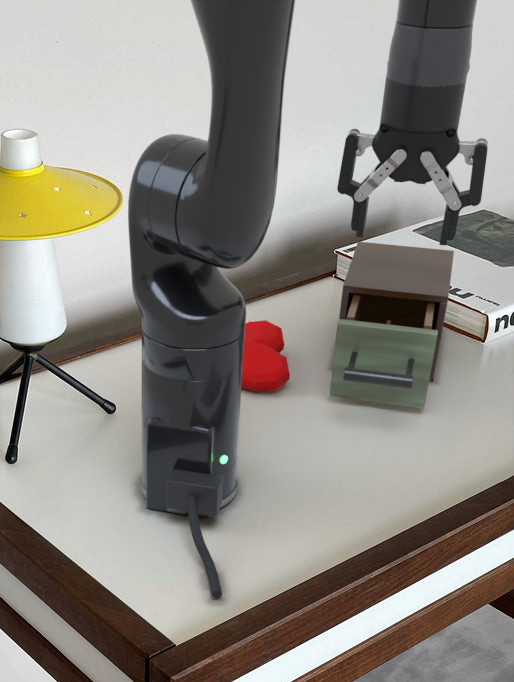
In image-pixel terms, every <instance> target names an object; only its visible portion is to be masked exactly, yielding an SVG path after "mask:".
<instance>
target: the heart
mask: <svg viewBox="0 0 514 682" xmlns="http://www.w3.org/2000/svg"><path fill="white" fill-rule="evenodd" d="M284 349H285V340H284V334H283V328H282V327H280V326H278V325H276V324H274V323H272V322H270V321H268V320H266V319H265V320H255V321H248V322H246V323H245V340H244V356H243V370H242V386H241V389H245V390H248V391H251V392H255V393H265V392H275V391H278V390H279V389H280V388H281V387H282V386H283V385H284V384H285V383H287V382H288V381H289V380H290V376H291V375H290V368H289V363H288V358H287V357H286V356H285V355H283V354H281V353H282V351H283V350H284Z"/></svg>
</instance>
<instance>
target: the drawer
mask: <svg viewBox="0 0 514 682" xmlns="http://www.w3.org/2000/svg"><path fill="white" fill-rule="evenodd" d="M434 307H435V302H432V301H423V300H413V299H404V298H395V297H386V296H377V295H367V294H358V293H354V296H353V299H352V302H351V305H350V309H349V312H348V315H347V320H344V319H339V318H338V321H337V327H336V335H335V343H334V350H333V351H334V352H333V358H332V359H333V360H332V369H331V377H330V385H329V395H328V396H329V397H336V398H344V399H350V400H359V401H365V402H373V403H380V404H381V403H382V404H389V405H396V406H405V407H411V408H419V409H425V407H426V400H427V395H428V391H429V383H430V382H429V379H430V374H431V368H432V362H433V357H434V351H435V346H436V340H437V334H438V330H431V327H432V321H433V314H434ZM388 320H390V321H391V325H387V324H386V323H387V321H388Z"/></svg>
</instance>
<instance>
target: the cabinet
mask: <svg viewBox="0 0 514 682" xmlns="http://www.w3.org/2000/svg"><path fill="white" fill-rule="evenodd" d="M454 254H455V250H448V249H440V248H427V247H420V246H419V247H418V246H409V245H396V244H387V243H386V244H385V243H376V242H367V241H357V244H356V246H355V249H354V252H353V255H352V258H351V261H350V264H349V267H348V270H347V272H346V276H345V278H344V282H343V285H342V290H341V291H342V292H341V299H340V309H339V317H338V320H339V319H344V320H347V315H348V312H349V309H350V305H351V302H352V299H353V296H354V293H358V294H367V295H377V296H386V297H395V298H404V299H413V300H423V301H432V302H435V307H434V314H433V321H432V327H431V330H438V334H437V340H436V346H435V351H434V357H433V362H432V368H431V374H430V379H429V383H434V378H435V373H436V368H437V363H438V357H439V352H440V347H441V346H440V345H441V340H442V336H443V330H444V323H445V319H446V314H447V313H446V312H447V307H448V302H449V297H450V296H449V295H450V288H451V281H452V271H453V264H454V263H453V262H454Z"/></svg>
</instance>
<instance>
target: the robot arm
mask: <svg viewBox="0 0 514 682" xmlns="http://www.w3.org/2000/svg"><path fill="white" fill-rule="evenodd" d="M189 1H190V3H191V7H192V11H193V13H194V16H195V20H196V22H197V26H198V29H199V33H200V35H201V39H202V42H203V46H204V50H205V53H206V56H207V62H208V67H209V74H210V75H209V76H210V87H211V89H210V90H211V91H210V92H211V93H210V95H211V96H210V98H211V99H210V100H211V101H210V117H209V127H208V137H207V139H202V138H199V137H195V136H192V135H187V134H182V133H179V134H178V133H169V134H165V135H162V136H160V137H158V138H156V139H155V140H153V141H152V142H151V143H150V144H148V145H147V147H146V148H145V149H144V151H143V152H142V153H141V155H140V156H139V158H138V160H137V163H136V165H135V166H134V169H133V172H132V177H131V180H130V184H129V190H128V191H129V193H128V201H127V221H128V222H127V224H128V242H129V258H130V273H131V275H130V276H131V288H132V294H133V298H134V301H135V304H136V305H137V308H138V310H139V312H140V318H141V324H140V325H141V478H140V491H141V494H142V496H143V497H144V498H145V507H146V508H147V509H150V510H156V511H163V512H168V513H174V514H180V515H186V516H187V515H188V522H189V528H190V532H191V537H192V540H193V543H194V546H195V548H196V550H197V554H198V555H199V557H200V559H201V561H202V563H203V566H204V569H205V572H206V575H207V578H208V583H209V584H208V585H209V588H210V593H211V597H212V598H213V599H220V598H221V597H222V596H223V592H222V587H221V583H220V578H219V574H218V570H217V568H216V565H215V562H214V560H213V557H212V555H211V553H210V551H209V549H208V547H207V545H206V542H205V539H204V537H203V533H202V529H201V523H200V518H205V519H207V518H209V517H217V516H218V513H219V511H220V509H221V508H222V509H223V508H224V507H225V506H227V505H229V503H230V502H231V501H232V500H233V499H234V498H235V496H236V494H237V487H238V480H237V467H238V450H239V436H240V435H239V434H240V417H241V403H242V402H241V401H242V388H241V386H242V370H243V356H244V340H245V324H246V323H247V305H246V301H245V298H244V296H243V294H242V293H241V291H240V290H239V289H238V288H237V287H236V286H235V285H234V284H233V283H232V282H231V281H230V280H229V279H228V278H227V277H226V276H225V274H224V273H223V272H222V271H221V269H225V270H229V269H236V268H239V267H241V266H243V265H245V264H246V263H247V262H248V261H250V260H251V259H252V258H253V256H254V255H255V254H256V253H257V252H258V250H259V249H260V247H261V245H262V243H263V242H264V240H265V236H266V235H267V232H268V229H269V227H270V224H271V220H272V216H273V211H274V207H275V202H276V195H277V185H278V175H279V162H280V150H281V138H282V137H281V134H282V123H283V122H282V121H283V120H282V119H283V108H284V95H285V94H284V93H285V82H286V81H285V80H286V72H287V65H288V64H287V63H288V57H289V49H290V43H291V42H290V41H291V34H292V27H293V20H294V13H295V6H296V0H189ZM477 3H478V0H398V4H397V10H396V11H397V12H396V17H395V18H396V21H395V23H394V24H395V25H394V29H393V33H392V36H391V41H390V44H389V45H390V46H389V52H388V59H387V66H386V74H385V81H384V82H385V83H384V89H383V97H382V105H381V112H380V113H381V114H380V121H379V127H378V130H377V132H376V133H375V134H371V133H363V132H361V131H360V129H357V128H352V129H350V130H349V131H348V134H347V135H346V137H345V140H344V147H343V153H342V159H341V164H340V170H339V175H338V181H337V187H336V189H337V190H336V191H337V193H339V194H340V195H346V196H348V197H350V198H351V199H352V202H353V203H352V204H353V205H352V213H351V222H350V228H351V231H354V232H355V233H356V235H355V237H359V238H363V237H364V235H365V231H366V224H367V217H368V208H369V202H370V195H371V194H372V193H373V192H374V191H375V190H376V189H377V188H378V187H380V186H381V184H383V182H384V181H385V180H386V179H388V178H390V179H391V180H392V181H393V182H394V183H406V182H412V183H415V184H418V185H426V184H428V183H430V182H433V184H434V185H435V187H436V189H437V191H438V192H439V194H441V195H442V197H443V199H444V201H445V203H446V205H445V210H444V216H443V222H442V225H441V226H442V228H441V233H440V237H439V246H446V247H447V243H448V241H453V240H454V239H455V237H456V233H457V227H458V221H459V216H460V212H461V210H463V209H464V208H466V207H470V206H472V207H477V206H479V205H480V204H481V203H482V197H483V188H484V180H485V173H486V165H487V157H488V150H489V149H488V148H489V147H488V146H489V143H488V140H487V139H486V138H481V137H480V138H478V139H476V141H475V140H474V141H473V140H472V141H470V140H469V141H467V140H466V141H465V140H464V141H463V140H462V141H461V140H460V138H459V134H458V131H459V125H460V118H461V114H462V113H461V112H462V109H463V108H462V107H463V103H464V96H465V91H466V84H467V79H468V73H469V71H470V67H471V66H470V64H471V63H470V61H471V55H472V48H473V31H474V21H475V16H476V15H475V14H476V8H477ZM370 147H372V150H373V152H374V154H375V156H376V158H377V159H378V161H379V162H378V164H376V165H375V167H374V168H373V169H372V170H370V172H369V174H368V175H367V176H366V177H365V178H364V179H363V180H362V181H360V182H359V181H357V180H354V179H353V178H354V171H355V166H356V162H357V157H362V156H363V155H364V154H365V152H366V149H368V148H370ZM459 154H461V155H463V157H464V162H465V164H466V165H468V166H471V175H470V183H469V189H466V190H462V191H460V189H459V187H458V186H457V184H456V182H455V179H454V177H453V175H452V173H451V172H450V169H449V168H448V166H449V165H450V164H451V163H452V161H453V160H454V159H455V158H457V156H458V155H459Z"/></svg>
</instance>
